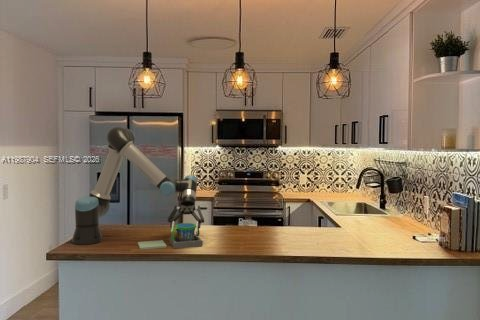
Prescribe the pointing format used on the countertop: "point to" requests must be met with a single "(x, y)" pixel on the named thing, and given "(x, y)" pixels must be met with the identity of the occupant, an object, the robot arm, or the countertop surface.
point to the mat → (151, 244)
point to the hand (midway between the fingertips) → (184, 233)
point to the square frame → (185, 242)
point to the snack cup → (185, 232)
